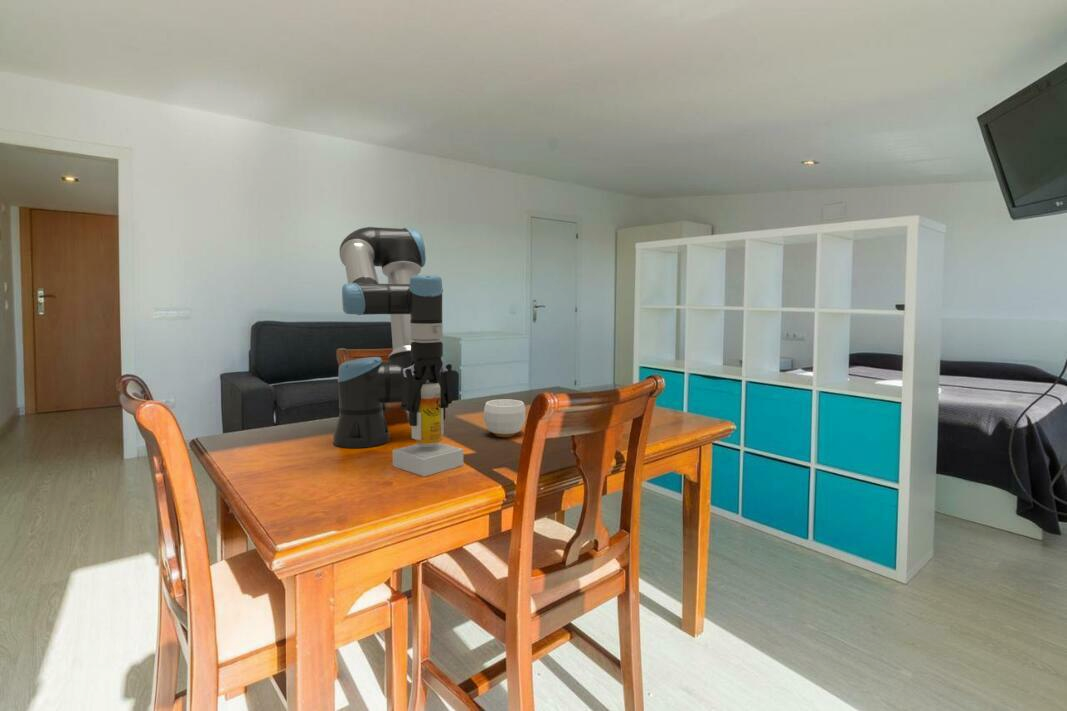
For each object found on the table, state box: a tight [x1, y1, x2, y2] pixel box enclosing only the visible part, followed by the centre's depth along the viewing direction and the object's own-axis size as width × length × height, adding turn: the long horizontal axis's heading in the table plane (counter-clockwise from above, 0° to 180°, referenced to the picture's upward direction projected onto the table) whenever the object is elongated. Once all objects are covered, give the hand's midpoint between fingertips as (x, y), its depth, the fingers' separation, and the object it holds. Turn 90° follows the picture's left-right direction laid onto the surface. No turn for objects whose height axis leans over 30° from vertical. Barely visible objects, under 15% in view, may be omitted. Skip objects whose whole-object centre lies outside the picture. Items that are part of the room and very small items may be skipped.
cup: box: [483, 398, 527, 438], centre depth 172 cm, size 12×12×10 cm
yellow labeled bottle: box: [414, 381, 442, 447], centre depth 140 cm, size 6×6×15 cm
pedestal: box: [392, 442, 464, 478], centre depth 141 cm, size 12×12×4 cm
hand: (427, 435), depth 140 cm, fingers closed on yellow labeled bottle, 6 cm apart
